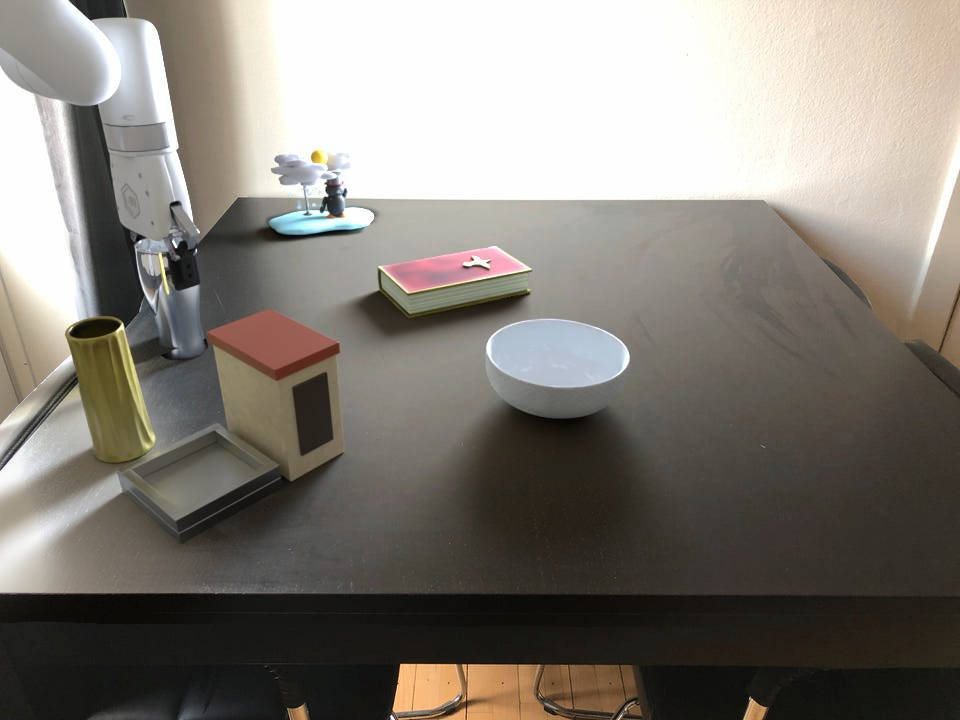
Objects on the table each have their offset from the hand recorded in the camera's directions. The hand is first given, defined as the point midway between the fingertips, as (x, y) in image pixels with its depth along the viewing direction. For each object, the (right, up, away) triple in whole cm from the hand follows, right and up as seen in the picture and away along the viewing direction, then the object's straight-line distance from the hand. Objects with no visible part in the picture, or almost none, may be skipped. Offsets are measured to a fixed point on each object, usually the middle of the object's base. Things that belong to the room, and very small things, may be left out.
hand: (169, 277), depth 94 cm
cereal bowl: (+48, -15, -5) cm, 51 cm away
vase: (+1, -20, -14) cm, 24 cm away
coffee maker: (+15, -22, -17) cm, 31 cm away
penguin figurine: (+9, +15, +49) cm, 52 cm away
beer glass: (0, -9, +5) cm, 11 cm away
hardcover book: (+35, 0, +24) cm, 42 cm away
